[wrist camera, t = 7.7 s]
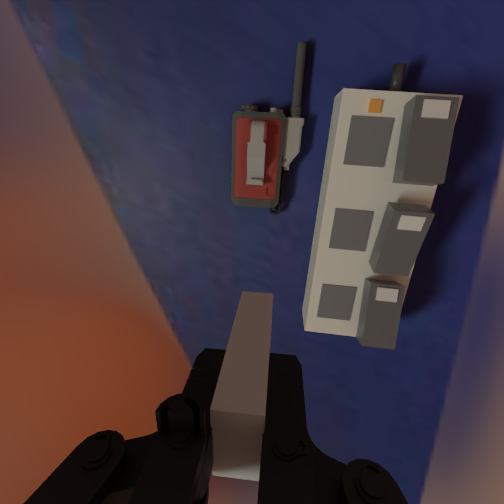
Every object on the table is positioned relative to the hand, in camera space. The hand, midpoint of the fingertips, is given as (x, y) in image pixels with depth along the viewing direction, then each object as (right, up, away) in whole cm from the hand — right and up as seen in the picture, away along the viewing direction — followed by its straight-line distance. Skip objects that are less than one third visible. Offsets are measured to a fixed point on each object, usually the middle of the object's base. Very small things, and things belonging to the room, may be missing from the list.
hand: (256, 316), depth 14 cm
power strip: (+15, +9, +24) cm, 30 cm away
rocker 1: (+17, +14, +15) cm, 27 cm away
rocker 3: (+16, -4, +22) cm, 28 cm away
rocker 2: (+17, +5, +19) cm, 26 cm away
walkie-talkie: (+2, +18, +23) cm, 29 cm away
